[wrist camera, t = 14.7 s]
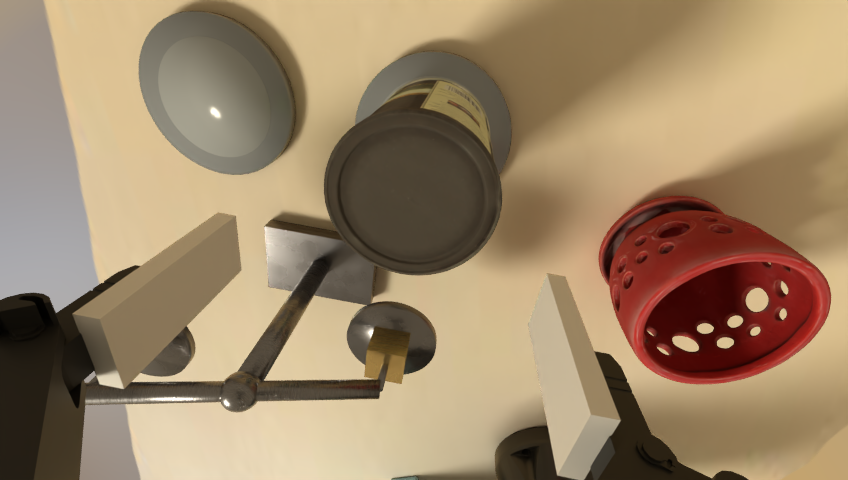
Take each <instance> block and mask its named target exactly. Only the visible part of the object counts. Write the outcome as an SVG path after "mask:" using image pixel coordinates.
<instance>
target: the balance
mask: <svg viewBox="0 0 848 480" xmlns="http://www.w3.org/2000/svg"><path fill="white" fill-rule="evenodd" d="M264 229H265V242H266V256H267V269H268V283H269V287H272V288H278V289H283V290H288V291H292V293H291V294H290V296H289V297H288V298H287V300H286V301H285V303H284V304H283V306H282V307H281V309H280V310H279V312H278V313H277V315H276V316H275V317H274V319H273V320H272V322H271V323H270V325H269V326H268V328H267V329H266V331H265V332H264V334H263V335H262V336H261V338H260V339H259V341H258V342H257V344H256V345H255V347H254V348H253V350H252V351H251V353H250V354H249V355H248V357H247V358H246V360H245V361H244V363H243V364H242V366H241V367H240V369H239V370H238V372H236V373H233V374H232V375H230V376H229V377H228V378H226V379H225V381H198V382H131V383H130V384H129V385H128V386H127V387H126V388H125V389H121V388H116V387H111V386H106V385H101V384H99V381H98V379H97V376H95V377H94V378H93V379H92V380H91V381H90V382H89V383H85V385H86V400H85V405H104V404H105V405H106V404H154V403H202V402H221V404H222V405H223V407H224V408H225V409H227V410H229V411H231V412H243V411H246V410H248V409H250V408H252V407H253V406H254V405H255V404H256V403H257V401H298V400H345V399H379V395H380V392H381V391H382V390H383V387H384V383H385V381H389V382H394V383H399V384H402V379H403V374H409V373H413V372H416V371H418V370H420V369H422V368H424V367H425V366H426V365H427V364H428V363H429V362H430V361H431V360H432V358H433V356H434V353H435V349H436V333H435V330H434V327H433V325H432V324H431V322H430V321H429V320H428V318H427V317H426V316H425V315H423V314H422V313H421V312H420V311H418V310H416V309H415V308H413V307H410V306H408V305H405V304H402V303H398V302H389V301H384V302H376V303H372V300H373V297H374V288H375V277H376V267H377V266H376V265H374V264H372V263H370V262H368V261H367V260H365V259H364V258H362V257H361V256H360V255H358V254H357V253H356V252H354V251H353V250H352V249H351V248H350V247H349V246H348V245H347V244H346V243H345V242H344V240H343V239H342V238H341V236H340V235H339V233H338V232H336V231H330V230H325V229H319V228H314V227H308V226H303V225H297V224H292V223H286V222H281V221H275V220H270V221H269V222H268V223H267V224H266V225H265V226H264ZM314 295H315V296H321V297H326V298H331V299H337V300H342V301H347V302H353V303H358V304H363V305H367V306H365V307H363V308H362V309H360V310H359V311H358V312H357V313H356V314H355V315H354V316H353V318H352V320H351V322H350V325H349V328H348V331H347V341H348V345H349V348H350V349H351V351H352V353H353V354H354V355H355V357H356V358H357V359H358V360H359V361H361V362H362V363H363V364H365V375H364V377H368V378H373V379H372V380H285V381H264V379H265V377H266V376H267V374H268V372H269V371H270V369H271V367H272V366H273V364H274V362H275V360H276V359H277V357H278V355H279V354H280V352H281V350H282V349H283V347H284V345H285V344H286V342H287V340H288V339H289V337H290V335H291V333H292V332H293V330H294V328H295V327H296V325H297V323H298V322H299V320H300V318H301V317H302V315H303V313H304V312H305V310H306V308H307V306H308V305H309V303H310V301H311V300H312V298H313V296H314ZM371 303H372V304H371ZM194 354H195V342H194V339H193V336H192V334H191V332H190V331H189V329H188V328H187V326H186V327H185V328H184V329H183V330H182V331H181V332H180V333H179V334H178V335H177V336H176V337H175V338H174V339H173V340H172V341H171V342H170V343H169V344H168V345H167V346H166V347H165V348H164V349H163V350H162V351H161V352H160V353H159V354H158V355H157V356H156V357H155V358H154V359H153V360H152V361H151V362H150V363H149V364H148V365H147V366H146V367H145V368H144V369H143V370H142V372H141V373H143V374H147V375H152V376H161V377H162V376H172V375H175V374H177V373H179V372H181V371H182V370H184V368H185V367H186V366H187V365H188V364H189V362H190V361H191V360H192V359H193V357H194Z"/></svg>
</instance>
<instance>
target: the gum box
mask: <svg viewBox="0 0 848 480" xmlns="http://www.w3.org/2000/svg"><path fill="white" fill-rule="evenodd" d="M391 480H419V479H418V478H417V476H410V477H400V478H392V479H391Z"/></svg>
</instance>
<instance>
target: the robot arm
mask: <svg viewBox="0 0 848 480" xmlns="http://www.w3.org/2000/svg"><path fill="white" fill-rule="evenodd" d="M240 271H241V262H240V252H239V242H238V233H237V223H236V216H234V215H228V214H223V213H217V214H215V215H214V216H212V217H211V218H209V219H208V220H207V221H205V222H204V223H202V224H201V225H199V226H198V227H197V228H195V229H194V230H192V231H191V232H189V233H188V234H186V235H185V236H184V237H182V238H181V239H179V240H178V241H176V242H175V243H173V244H172V245H171V246H169V247H168V248H166V249H165V250H163V251H162V252H161V253H159V254H158V255H156V256H155V257H153V258H152V259H150V260H149V261H148V262H146V263H145V264H143V265H142V266H137V265H135V266H132V267H130V268H127V269H125V270H122V271H120V272H117V273H116V274H114V275H113V276H111V277H110V278H108V279H107V280H105V281H104V283H101V284H99V285H98V286H96V287H95V288H94V289H93V291H89V292H87V293H86V294H85V295H83V296H81V297H80V298H78V299H77V300H75V301H74V302H73V303H71V304H69V305H68V306H66V307H65V308H63V309H62V310H60V311H59V312H57V313H56V312H55V310H54V308H53V305H52V303H51V301H50V298H49V297H48V296H46V295H44V294H39V293H25V294H19V295H15V296H10V297H7V298H4V299H2V300H0V480H79V475H80V463H81V451H82V450H81V449H82V438H83V425H84V413H85V400H86V385H85V382H84V379H85V378H86V377H87V376H89V374H91V373H92V372H93V371H95V373H96V376H97V379H98V381H99V384H101V385H106V386H111V387H116V388H121V389H125V388H126V387H127V386H128V385H129V384H130V383H131V382H132V381H133V380H134V379H135V378H136V377H137V376H138V375H139V374H140V373H141V372H142V370H143V369H144V368H145V367H146V366H147V365H148V364H149V363H150V362H151V361H152V360H153V359H154V358H155V357H156V356H157V355H158V354H159V353H160V352H161V351H162V350H163V349H164V348H165V347H166V346H167V345H168V344H169V343H170V342H171V341H172V340H173V339H174V338H175V337H176V336H177V335H178V334H179V333H180V332H181V331H182V330H183V329H184V328H185V327H186V326H187V325H188V324H189V323H190V322H191V321H192V320H193V319H194V318H195V317H196V316H197V315H198V314H199V313H200V312H201V311H202V310H203V309H204V308H205V307H206V306H207V305H208V304H209V303H210V302H211V301H212V300H213V299H214V298H215V296H216V295H217V294H218V293H219V292H220V291H221V290H222V289H223V288H224V287H225V286H226V285H227V284H228V283H229V282H230V281H231V280H232V279H233V278H234V277H235V276H236V275H237V274H238V273H239V272H240ZM528 327H529V332H530V337H531V342H532V347H533V352H534V358H535V363H536V368H537V373H538V378H539V384H540V389H541V394H542V399H543V404H544V410H545V415H546V420H547V425H548V427H539V428H531V429H526V430H523V431H520V432H517V433H515V434H512V435H511V436H509V437H507V438H506V439H505V440H503V441H502V442H501V443H500V445H499V446H498V447H497V449H496V452H495V471H496V476H497V479H498V480H748V479H747V478H745V477H744V476H742V475H739V474H737V473H734V472H732V471H721V472H719V473H717V474H716V475H715V476H714V477H713V478H710V477H707V476H705V475H703V474H701V473H699V472H697V471H695V470H693V469H691V468H688V467H686V466H684V465H683V464H681V463H679V462H678V461H677V458H676V456H675V455H674V454H673V452H672V451H671V450H670V448H669V447H668V446H667V445H666V444H664V443H663V442H662V441H661V440H660V439H658V438H656V437H655V436H653V435H651V432H650V430H649V428H648V426H647V424H646V421H645V419H644V417H643V415H642V412H641V410H640V408H639V406H638V404H637V401H636V399H635V397H634V395H633V394H632V390H631V388H630V386H629V383H627V379H626V377H625V375H624V372H623V370H622V368H621V366H620V365H619V364H618V363H617V362H616V361H615V360H614V358H613V357H612V356H611V355H610V354H606V353H601V352H595V351H594V350H593V347H592V345H591V342H590V339H589V337H588V334H587V332H586V329H585V326H584V324H583V321H582V319H581V316H580V313H579V311H578V308H577V306H576V303H575V300H574V298H573V295H572V293H571V290H570V288H569V285H568V282H567V280H566V277H565V276H559V275H554V274H548V273H547V274H546V276H545V279H544V282H543V285H542V287H541V290H540V293H539V296H538V298H537V301H536V304H535V307H534V309H533V312H532V315H531V318H530V320H529V323H528Z"/></svg>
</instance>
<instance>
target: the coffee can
mask: <svg viewBox="0 0 848 480" xmlns="http://www.w3.org/2000/svg"><path fill="white" fill-rule="evenodd" d="M324 195H325V203H326V207H327V210H328V213H329V216H330V219H331V221H332V223H333V225H334V227H335V229H336V230H337V232H338V233H339V235H340V236H341V238H342V239H343V240H344V242H345V243H346V244H347V245H348V246H349V247H350V248H351V249H352V250H353V251H354V252H356V253H357V254H358V255H360V256H361V257H362V258H364V259H365V260H367V261H368V262H370V263H372V264H374V265H376V266H378V267H380V268H383V269H385V270H388V271H392V272H395V273H400V274H406V275H431V274H436V273H441V272H444V271H448V270H450V269H453V268H455V267H457V266H459V265H461V264H463V263H465V262H466V261H468V260H469V259H471V258H472V257H473V256H474V255H476V254H477V253H478V252H479V251H480V250H481V249H482V248H483V247H484V245H485V244H486V243H487V241H488V240H489V239H490V237H491V235H492V234H493V232H494V230H495V227H496V225H497V222H498V220H499V217H500V212H501V206H502V189H501V182H500V177H499V173H498V170H497V167H496V164H495V162H494V157H493V150H492V145H491V139H490V127H489V122H488V118H487V116H486V113H485V111H484V109H483V107H482V106H481V103H480V102H479V101H478V100H477V99H476V97H475V96H474V95H473V94H472V93H470V92H469V91H468V90H467V89H465V88H464V87H462V86H461V85H459V84H457V83H455V82H452V81H449V80H446V79H442V78H424V79H419V80H415V81H412V82H410V83H408V84H406V85H404V86H402V87H401V88H399V89H398V90H396V91H395V92H394V93H393V94H392V95H391V96H390V98H389V99H388V100H387V101H386V102H385V103H384V104H383V105H382V106H381V107H379V108H378V109H377V110H376V111H375V112H374V113H372V114H371V115H370V116H369V117H367V118H365V119H364V120H362V121H360V122H359V123H357V124H356V125H355V126H354V127H352V128H351V129H350V130H349V131H348V132H347V133H346V134H345V135H344V136H343V137H342V138H341V140H340V141H339V142H338V143H337V145H336V146H335V148H334V150H333V151H332V153H331V156H330V158H329V161H328V164H327V167H326V172H325V179H324Z"/></svg>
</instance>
